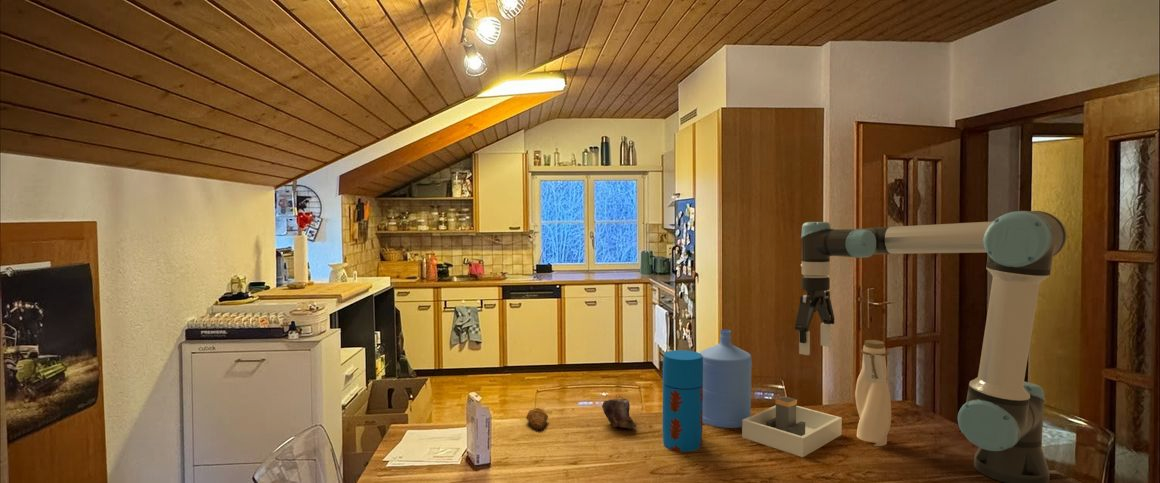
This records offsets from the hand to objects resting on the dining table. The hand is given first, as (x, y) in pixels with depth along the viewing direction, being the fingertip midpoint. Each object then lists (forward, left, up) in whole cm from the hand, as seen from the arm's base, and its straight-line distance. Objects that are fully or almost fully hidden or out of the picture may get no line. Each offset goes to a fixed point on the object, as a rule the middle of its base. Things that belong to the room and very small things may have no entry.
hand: (815, 350), depth 174 cm
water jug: (+23, +11, -25) cm, 35 cm away
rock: (+43, +37, -25) cm, 61 cm away
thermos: (+21, +34, -25) cm, 47 cm away
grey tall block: (+4, +9, -23) cm, 25 cm away
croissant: (+61, +54, -25) cm, 85 cm away
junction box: (+2, +9, -24) cm, 26 cm away
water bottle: (-14, -6, -25) cm, 29 cm away
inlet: (+4, +9, -23) cm, 25 cm away
